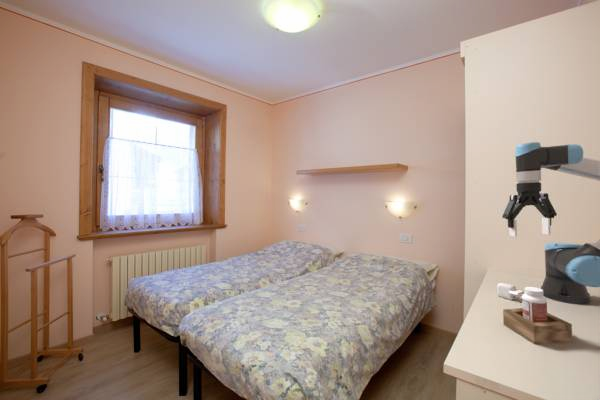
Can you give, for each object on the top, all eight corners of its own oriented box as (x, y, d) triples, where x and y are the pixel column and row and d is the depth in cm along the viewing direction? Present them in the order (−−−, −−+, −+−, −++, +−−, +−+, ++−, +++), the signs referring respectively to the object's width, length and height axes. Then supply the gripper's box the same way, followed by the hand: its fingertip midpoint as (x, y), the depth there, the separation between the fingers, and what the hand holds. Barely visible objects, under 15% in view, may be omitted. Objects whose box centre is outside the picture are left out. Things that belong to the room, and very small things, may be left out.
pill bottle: (550, 322, 87) (549, 289, 87) (544, 328, 84) (543, 294, 84) (526, 315, 92) (525, 284, 92) (519, 321, 89) (518, 288, 89)
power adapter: (532, 303, 109) (532, 289, 109) (525, 305, 107) (525, 291, 107) (502, 294, 120) (502, 281, 119) (496, 296, 118) (495, 283, 117)
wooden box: (536, 322, 94) (536, 307, 94) (572, 341, 82) (571, 324, 82) (503, 324, 94) (503, 309, 94) (534, 344, 82) (533, 326, 82)
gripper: (549, 181, 110) (551, 231, 111) (490, 184, 109) (492, 235, 110) (568, 180, 103) (569, 234, 103) (505, 183, 102) (506, 238, 103)
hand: (529, 235), depth 107 cm, fingers open, 13 cm apart
